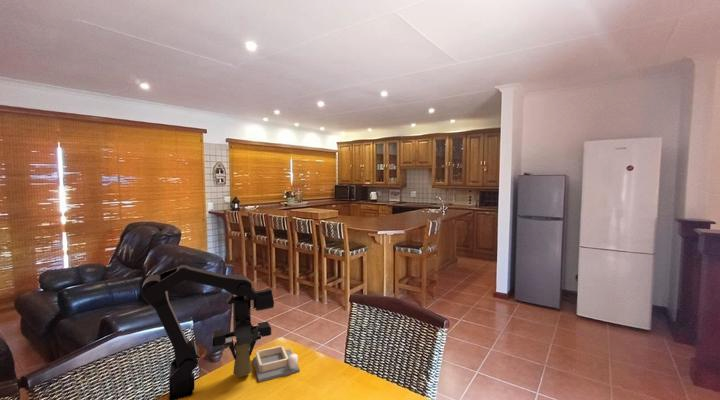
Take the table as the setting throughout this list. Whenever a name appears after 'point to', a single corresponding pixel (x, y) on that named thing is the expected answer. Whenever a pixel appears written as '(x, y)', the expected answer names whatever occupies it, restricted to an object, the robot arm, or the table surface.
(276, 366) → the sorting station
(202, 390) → the table surface
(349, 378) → the table surface
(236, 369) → the cork
